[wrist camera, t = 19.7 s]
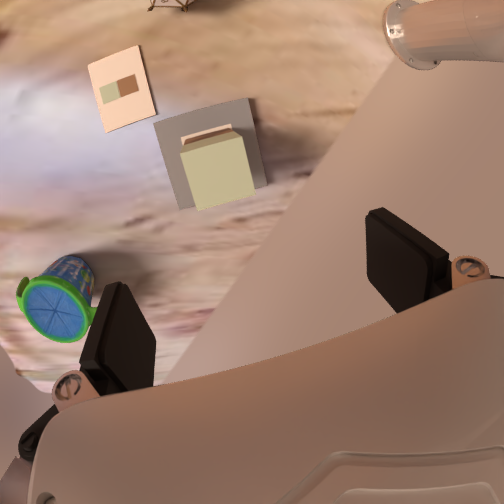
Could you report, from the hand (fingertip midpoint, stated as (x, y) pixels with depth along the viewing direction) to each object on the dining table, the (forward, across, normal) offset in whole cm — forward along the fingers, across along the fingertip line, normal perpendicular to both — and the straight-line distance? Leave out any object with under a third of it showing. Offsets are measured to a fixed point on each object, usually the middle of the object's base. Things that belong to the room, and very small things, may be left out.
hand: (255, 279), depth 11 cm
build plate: (+30, 0, 0) cm, 30 cm away
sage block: (+23, 0, 0) cm, 23 cm away
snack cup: (+31, +26, +11) cm, 42 cm away
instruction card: (+30, +9, -12) cm, 34 cm away
